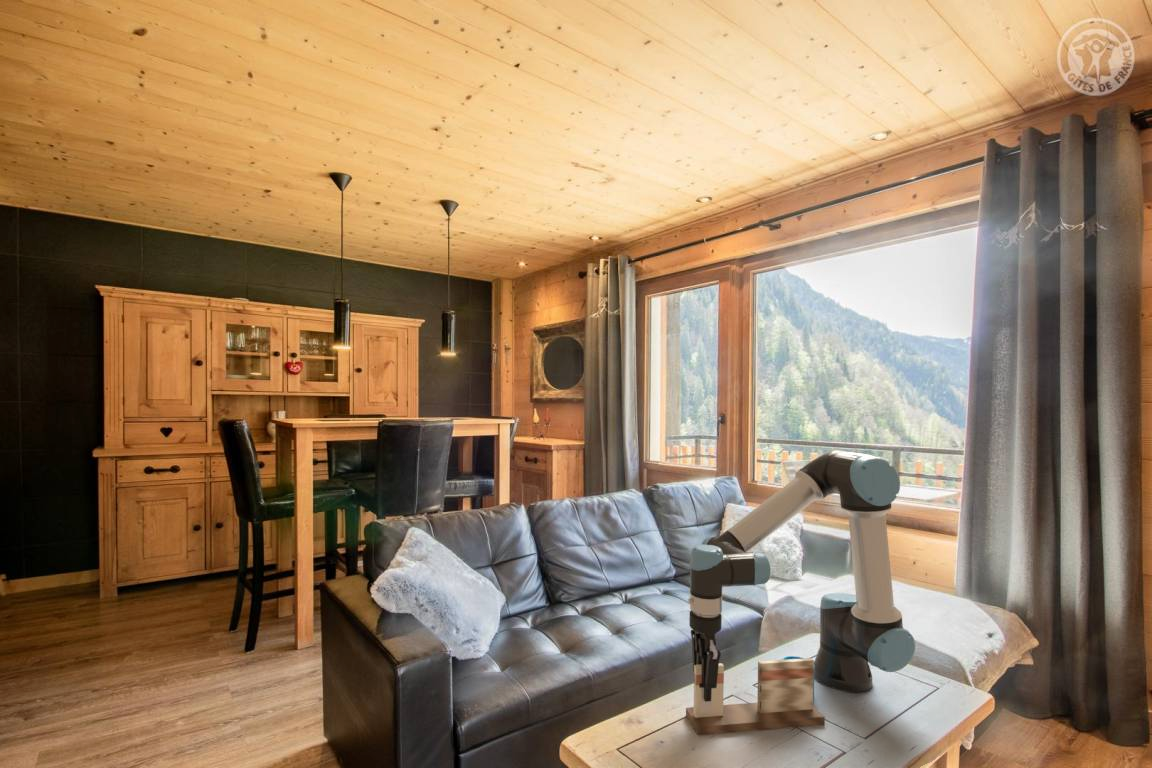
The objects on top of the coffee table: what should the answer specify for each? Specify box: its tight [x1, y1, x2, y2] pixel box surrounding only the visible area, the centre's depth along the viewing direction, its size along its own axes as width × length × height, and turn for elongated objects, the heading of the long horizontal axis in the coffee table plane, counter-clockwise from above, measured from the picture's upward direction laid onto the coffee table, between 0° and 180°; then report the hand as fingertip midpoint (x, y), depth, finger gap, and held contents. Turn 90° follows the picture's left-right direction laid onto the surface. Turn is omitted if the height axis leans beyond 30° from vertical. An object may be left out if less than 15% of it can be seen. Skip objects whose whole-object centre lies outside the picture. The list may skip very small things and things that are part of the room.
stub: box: [693, 662, 725, 718], centre depth 138 cm, size 7×1×12 cm, turn 99°
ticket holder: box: [685, 657, 826, 736], centre depth 140 cm, size 32×8×14 cm, turn 99°
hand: (704, 710), depth 138 cm, fingers closed on stub
